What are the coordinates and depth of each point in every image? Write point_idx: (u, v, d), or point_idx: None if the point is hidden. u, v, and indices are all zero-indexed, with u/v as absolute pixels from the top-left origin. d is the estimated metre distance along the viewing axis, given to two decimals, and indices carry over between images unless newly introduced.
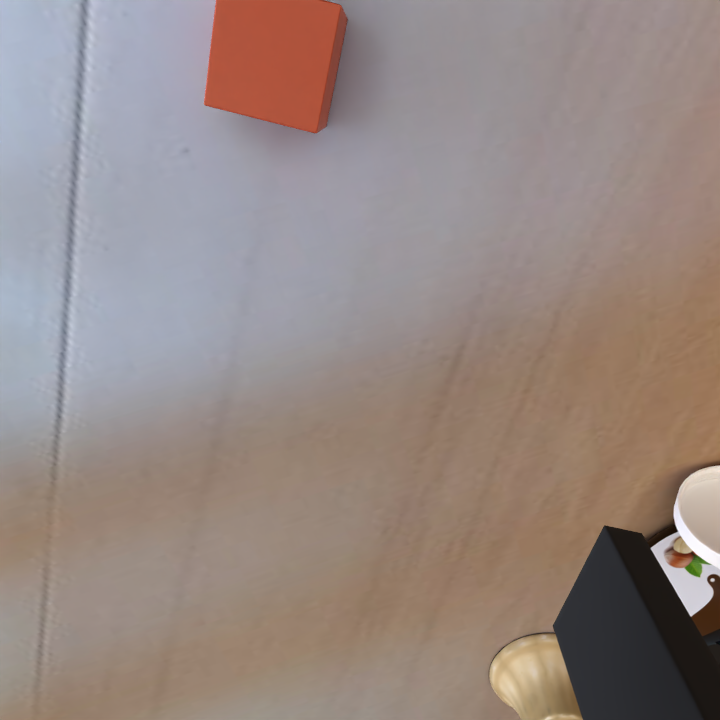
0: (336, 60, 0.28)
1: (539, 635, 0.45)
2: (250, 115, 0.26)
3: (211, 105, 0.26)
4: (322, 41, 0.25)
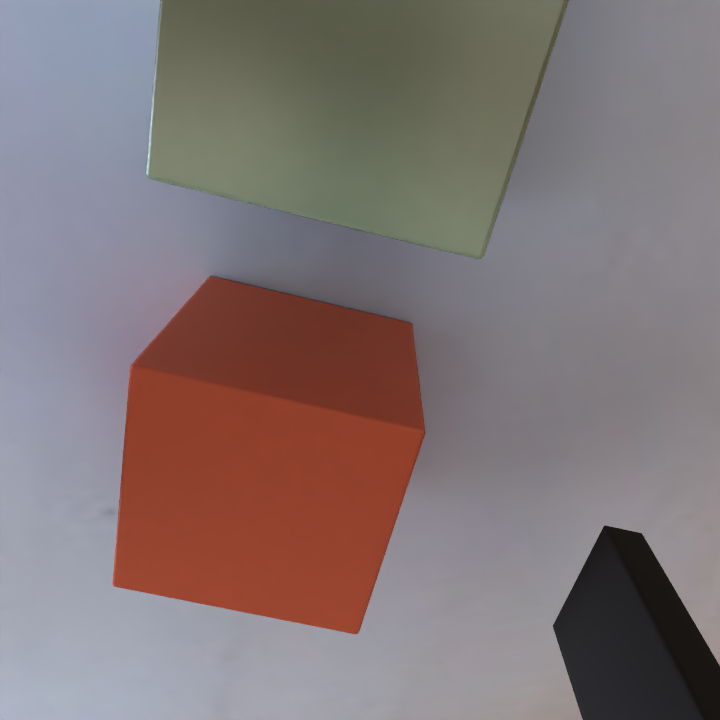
0: None
1: None
2: (214, 604, 0.12)
3: (129, 588, 0.12)
4: (377, 493, 0.11)
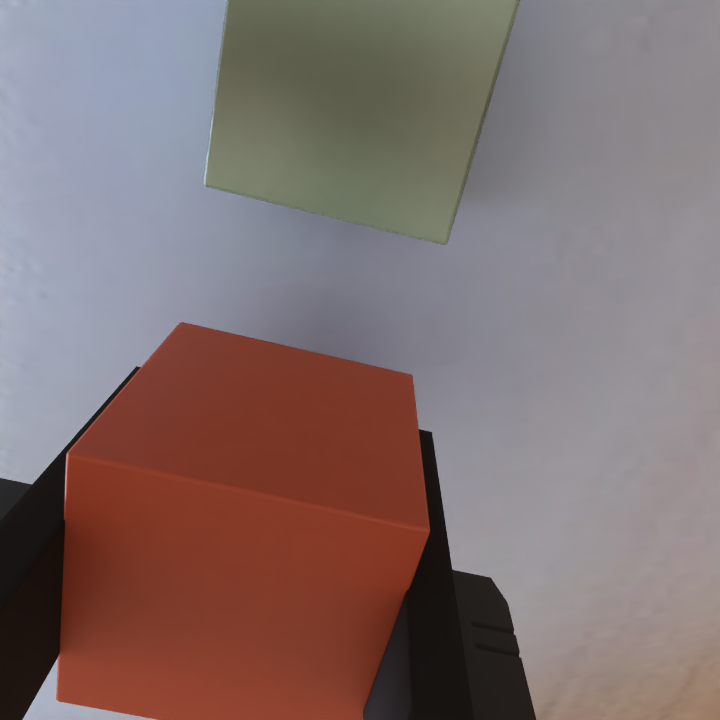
0: None
1: None
2: None
3: (75, 703, 0.10)
4: (371, 599, 0.09)
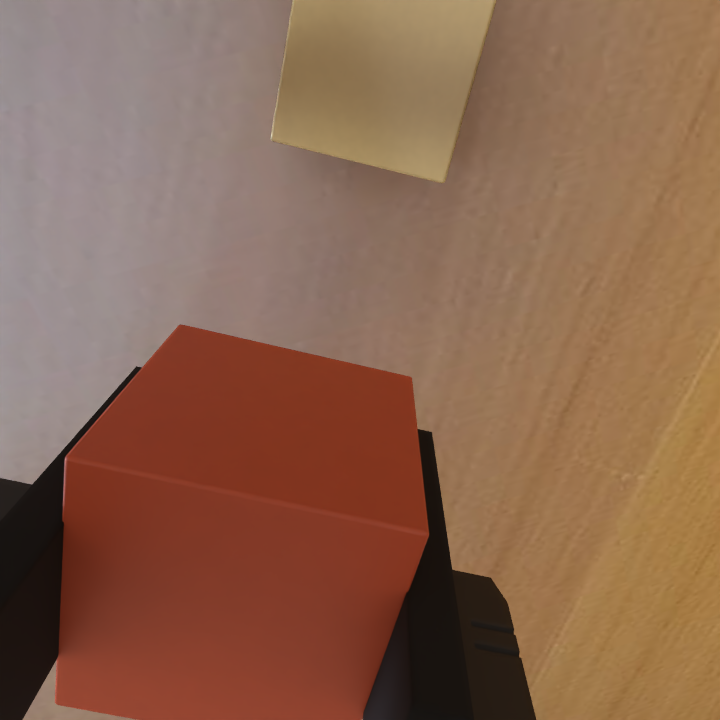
0: None
1: None
2: None
3: (74, 706, 0.10)
4: (370, 603, 0.09)
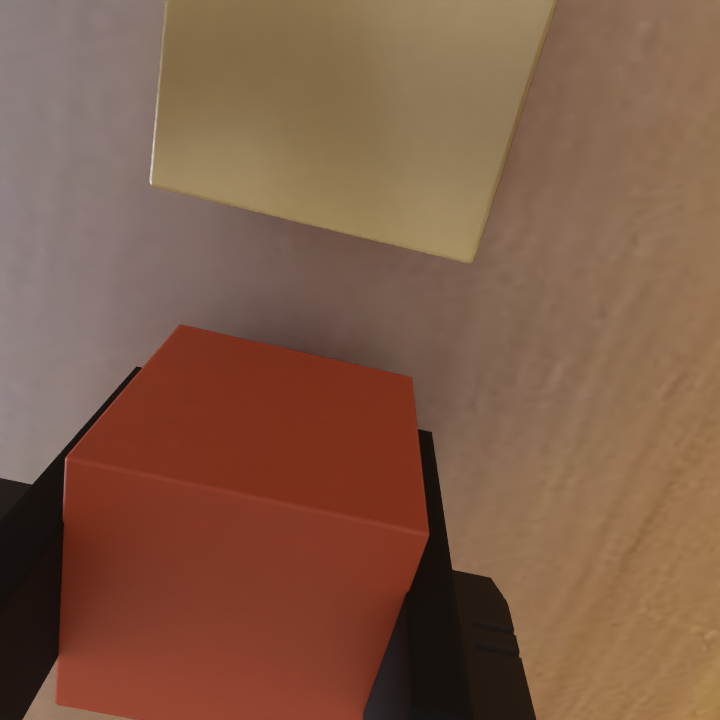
0: None
1: None
2: None
3: (74, 706, 0.10)
4: (370, 603, 0.09)
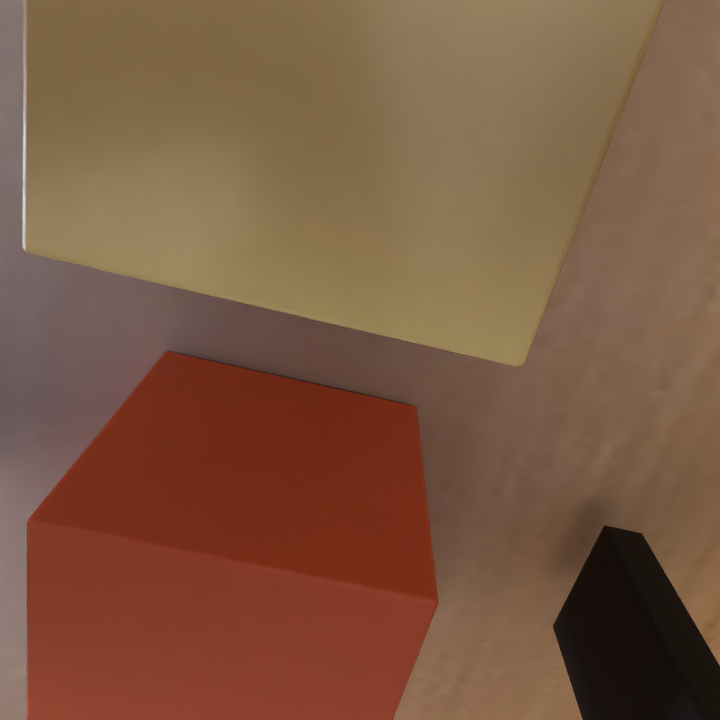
0: None
1: None
2: None
3: None
4: (372, 675, 0.08)
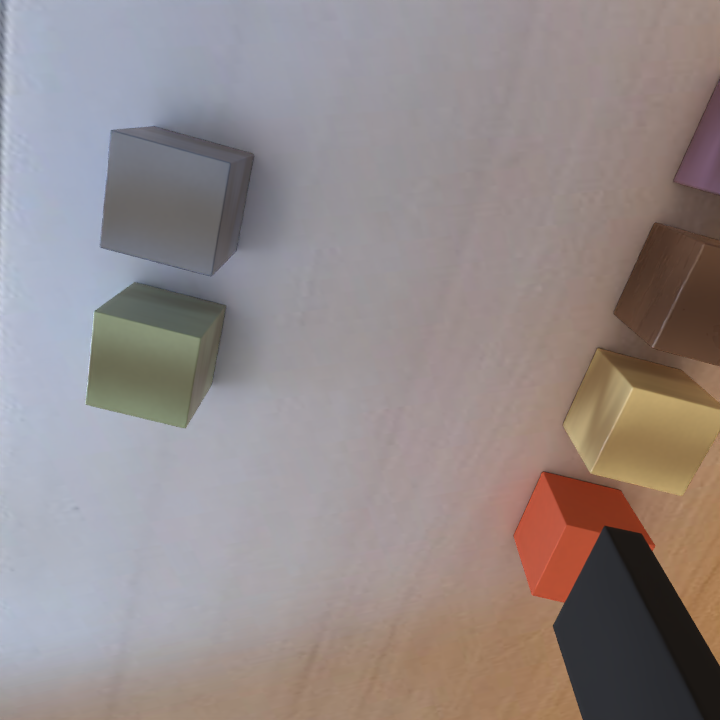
0: None
1: None
2: None
3: (537, 595, 0.33)
4: None
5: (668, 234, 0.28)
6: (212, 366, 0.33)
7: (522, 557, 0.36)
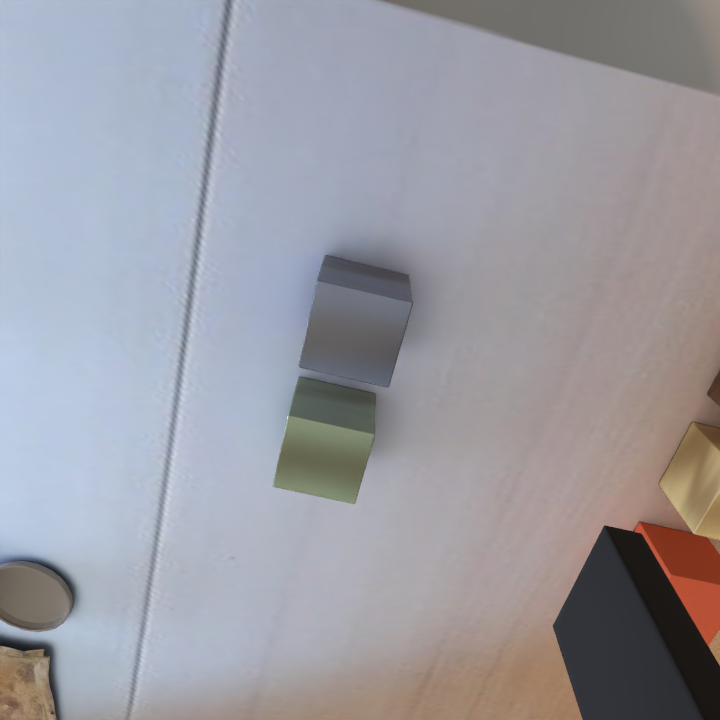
0: None
1: None
2: None
3: None
4: None
5: None
6: None
7: None
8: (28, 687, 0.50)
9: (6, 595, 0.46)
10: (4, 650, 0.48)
